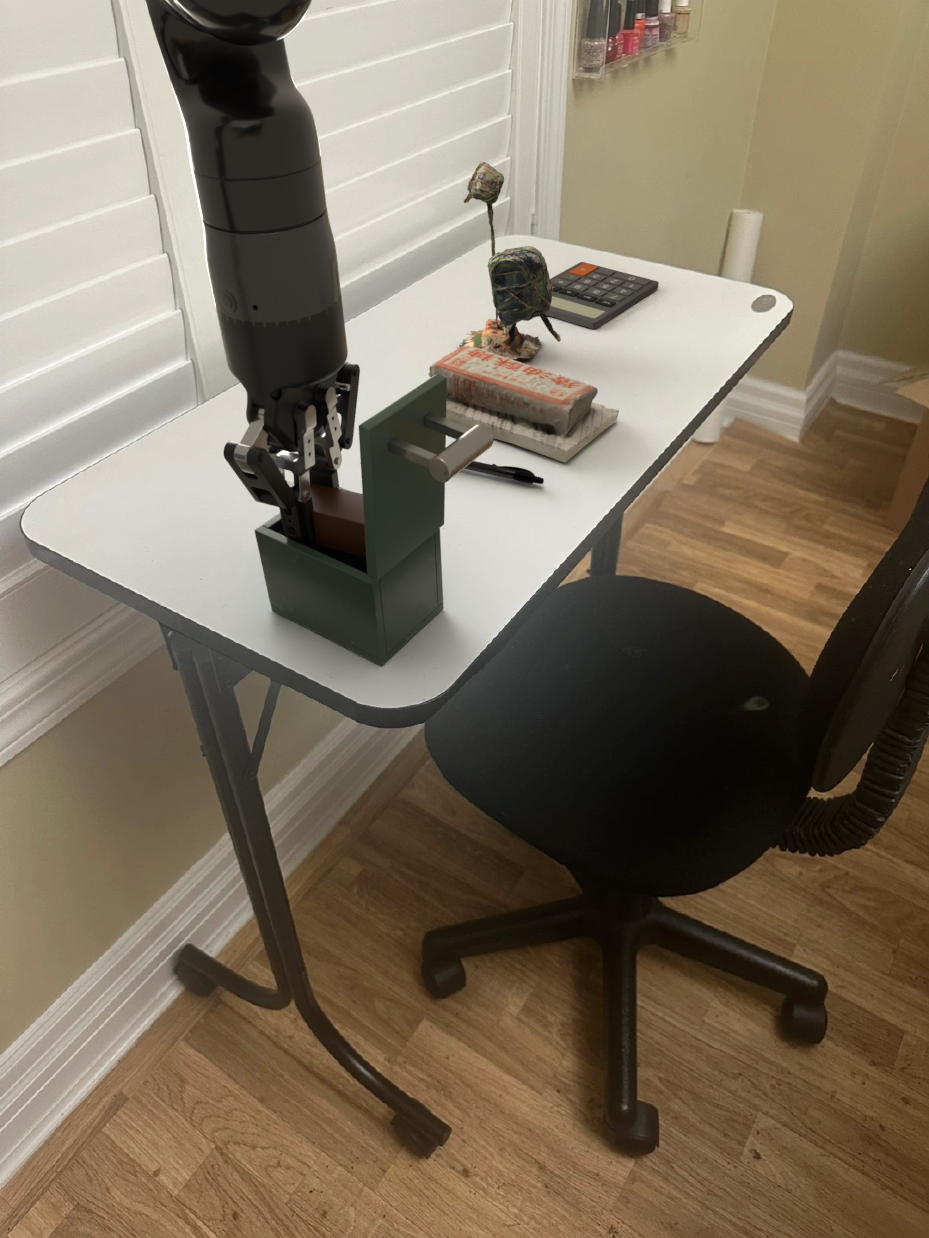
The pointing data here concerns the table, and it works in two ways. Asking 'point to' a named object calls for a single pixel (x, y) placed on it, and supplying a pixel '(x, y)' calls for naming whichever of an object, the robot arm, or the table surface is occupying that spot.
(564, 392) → the packaged product
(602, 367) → the table surface
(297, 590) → the green storage bin
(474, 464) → the pen
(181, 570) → the table surface
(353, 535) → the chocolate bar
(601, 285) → the calculator
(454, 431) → the bin lid
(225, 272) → the robot arm
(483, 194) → the plant with pod
